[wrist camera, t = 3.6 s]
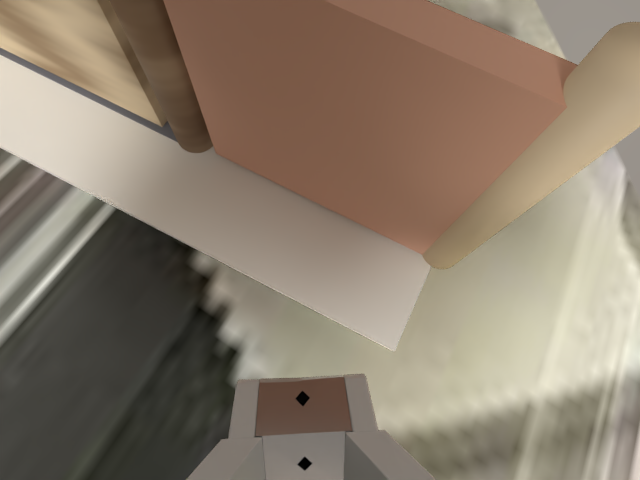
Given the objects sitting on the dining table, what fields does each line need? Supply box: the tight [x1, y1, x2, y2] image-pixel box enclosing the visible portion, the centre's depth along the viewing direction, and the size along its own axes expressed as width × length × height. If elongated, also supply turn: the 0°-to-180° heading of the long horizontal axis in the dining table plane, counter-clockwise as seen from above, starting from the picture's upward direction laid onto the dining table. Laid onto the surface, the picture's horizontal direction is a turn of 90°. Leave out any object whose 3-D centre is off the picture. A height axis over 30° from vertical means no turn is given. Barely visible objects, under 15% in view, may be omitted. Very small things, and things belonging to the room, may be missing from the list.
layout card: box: [0, 48, 432, 351], centre depth 22 cm, size 26×16×1 cm, turn 63°
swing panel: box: [163, 0, 640, 269], centre depth 14 cm, size 12×2×12 cm, turn 63°
